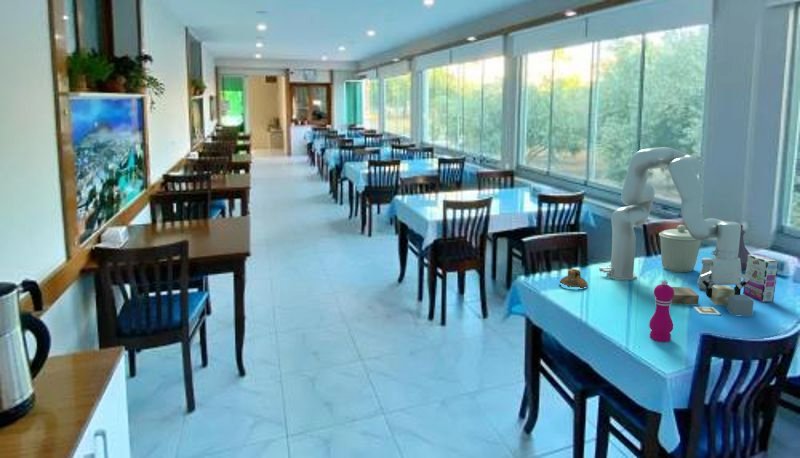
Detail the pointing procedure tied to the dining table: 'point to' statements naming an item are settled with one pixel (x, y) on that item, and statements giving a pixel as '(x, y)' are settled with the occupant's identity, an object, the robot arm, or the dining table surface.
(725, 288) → the maple cube
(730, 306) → the grey cube
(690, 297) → the walnut block
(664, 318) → the pepper mill
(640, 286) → the dining table surface
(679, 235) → the canister
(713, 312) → the card
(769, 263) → the candy bar box
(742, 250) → the flask
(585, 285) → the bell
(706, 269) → the salt shaker
